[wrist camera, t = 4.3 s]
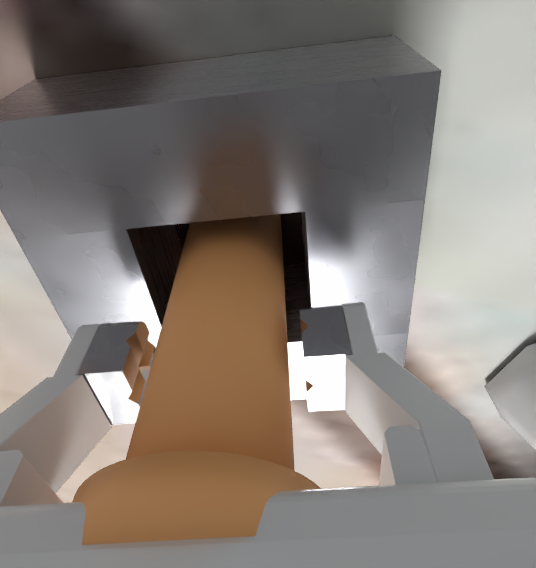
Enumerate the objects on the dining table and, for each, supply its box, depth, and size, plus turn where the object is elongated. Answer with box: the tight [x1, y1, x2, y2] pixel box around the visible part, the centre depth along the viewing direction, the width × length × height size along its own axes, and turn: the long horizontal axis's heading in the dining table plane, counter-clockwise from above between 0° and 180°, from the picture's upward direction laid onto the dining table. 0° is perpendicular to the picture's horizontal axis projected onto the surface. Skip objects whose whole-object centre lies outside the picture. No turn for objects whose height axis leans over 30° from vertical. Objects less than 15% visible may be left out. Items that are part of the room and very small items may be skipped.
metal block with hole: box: [0, 36, 441, 400], centre depth 13 cm, size 10×10×4 cm
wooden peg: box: [73, 214, 321, 545], centre depth 11 cm, size 4×4×11 cm
